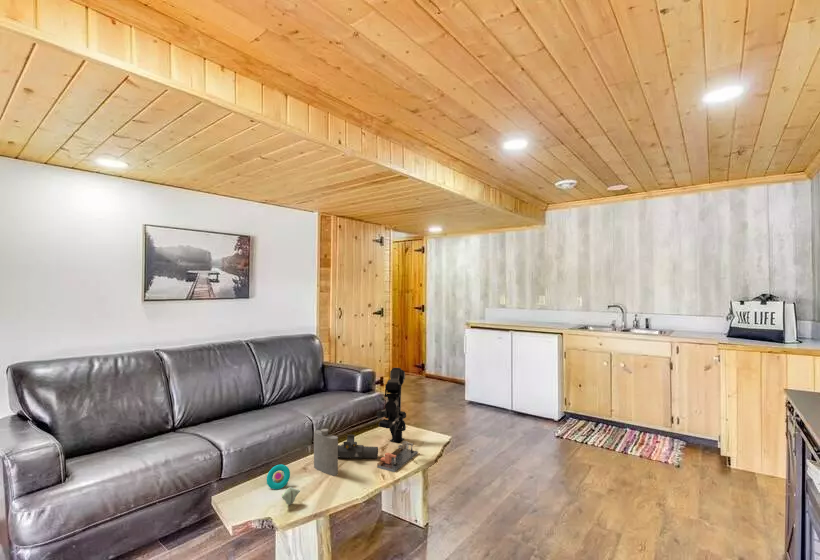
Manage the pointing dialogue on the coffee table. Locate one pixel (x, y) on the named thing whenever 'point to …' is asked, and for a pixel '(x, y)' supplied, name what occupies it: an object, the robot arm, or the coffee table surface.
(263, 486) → the coffee table surface
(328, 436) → the hip flask
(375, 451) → the laser sight
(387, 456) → the block
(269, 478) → the ornament
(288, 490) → the grey-green faceted piece
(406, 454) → the plate
